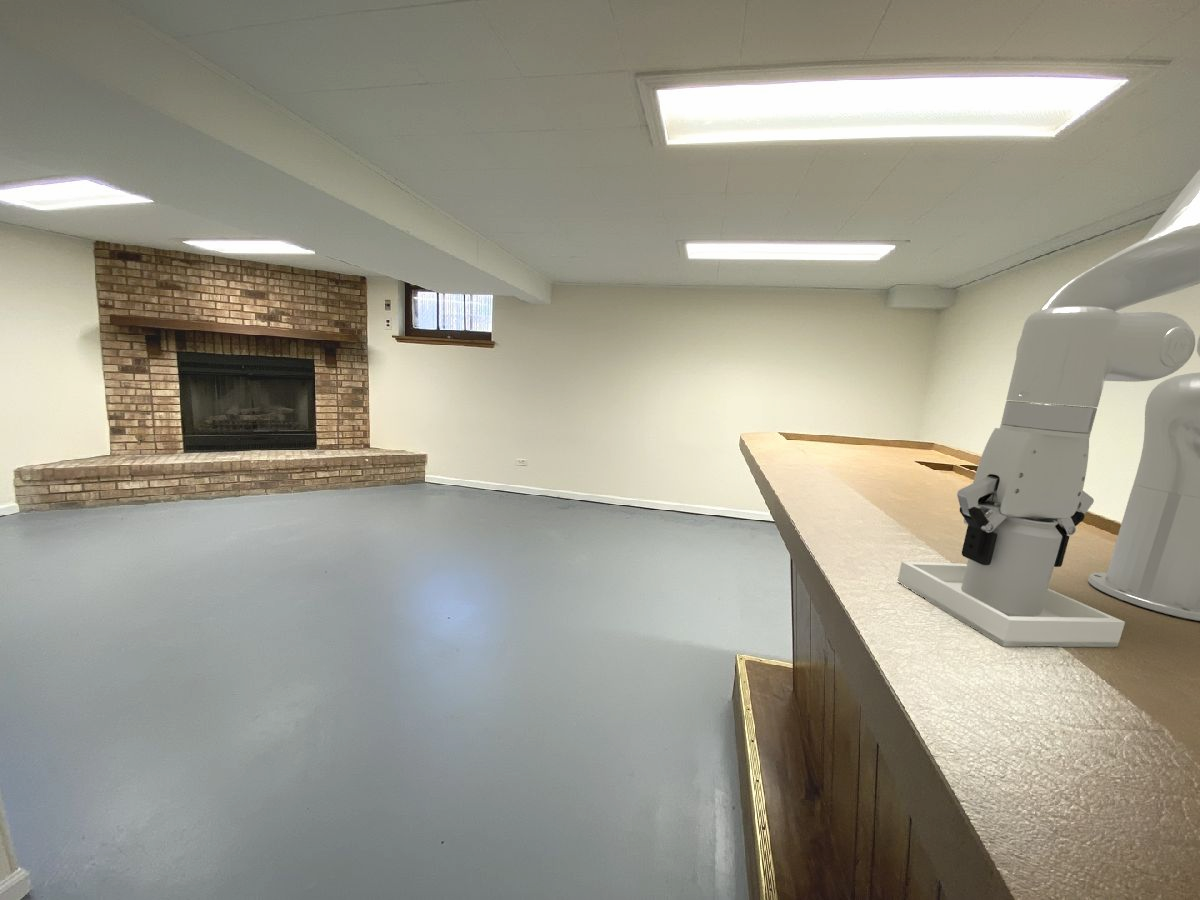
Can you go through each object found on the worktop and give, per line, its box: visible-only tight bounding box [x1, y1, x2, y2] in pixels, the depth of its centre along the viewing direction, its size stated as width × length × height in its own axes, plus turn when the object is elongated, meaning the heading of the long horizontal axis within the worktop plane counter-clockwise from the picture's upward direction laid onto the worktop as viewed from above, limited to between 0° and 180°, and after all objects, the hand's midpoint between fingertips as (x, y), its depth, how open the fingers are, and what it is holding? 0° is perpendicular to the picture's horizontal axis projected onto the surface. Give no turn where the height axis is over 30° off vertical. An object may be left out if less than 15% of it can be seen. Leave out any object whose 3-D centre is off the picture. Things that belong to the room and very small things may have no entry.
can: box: [961, 512, 1062, 617], centre depth 55 cm, size 8×8×12 cm
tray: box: [897, 561, 1126, 648], centre depth 56 cm, size 15×15×3 cm
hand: (1010, 561), depth 55 cm, fingers open, 9 cm apart
